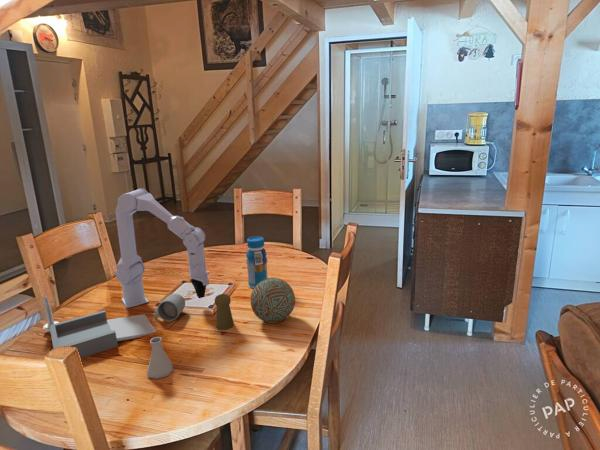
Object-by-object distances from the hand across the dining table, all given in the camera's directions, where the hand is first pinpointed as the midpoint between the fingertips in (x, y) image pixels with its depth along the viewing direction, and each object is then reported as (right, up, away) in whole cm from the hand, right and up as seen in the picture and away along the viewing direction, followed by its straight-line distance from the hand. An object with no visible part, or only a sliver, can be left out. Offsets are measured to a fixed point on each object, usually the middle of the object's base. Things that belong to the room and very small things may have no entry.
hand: (201, 297), depth 149 cm
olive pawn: (+11, -8, -13) cm, 18 cm away
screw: (-47, -9, -12) cm, 50 cm away
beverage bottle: (+19, +2, +18) cm, 27 cm away
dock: (-27, -11, -16) cm, 34 cm away
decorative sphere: (+27, -6, -10) cm, 30 cm away
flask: (-3, -15, -36) cm, 39 cm away
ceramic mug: (-10, -6, -5) cm, 13 cm away
